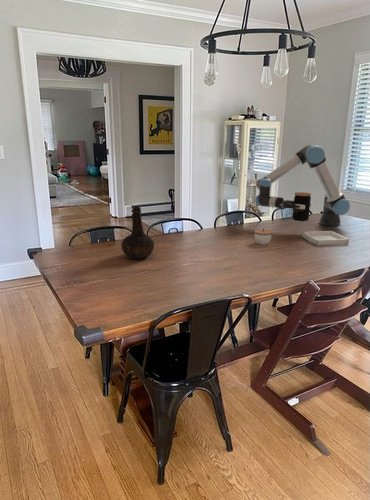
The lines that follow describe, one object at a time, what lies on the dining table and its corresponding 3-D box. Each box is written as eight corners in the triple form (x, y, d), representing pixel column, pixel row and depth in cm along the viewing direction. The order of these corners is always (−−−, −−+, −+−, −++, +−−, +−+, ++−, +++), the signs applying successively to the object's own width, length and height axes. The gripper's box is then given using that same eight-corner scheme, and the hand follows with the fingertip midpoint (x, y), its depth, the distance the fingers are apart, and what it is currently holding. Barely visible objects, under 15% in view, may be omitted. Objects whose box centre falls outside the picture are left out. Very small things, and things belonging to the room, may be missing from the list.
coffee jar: (289, 218, 259) (291, 192, 253) (301, 217, 263) (303, 191, 258) (299, 222, 250) (302, 195, 244) (311, 220, 254) (314, 194, 248)
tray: (330, 235, 253) (331, 230, 252) (348, 244, 233) (349, 239, 232) (301, 236, 250) (302, 231, 249) (316, 245, 230) (317, 240, 229)
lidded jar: (266, 246, 227) (267, 231, 224) (250, 243, 233) (251, 229, 231) (274, 243, 235) (275, 228, 233) (258, 240, 242) (259, 226, 239)
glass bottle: (147, 250, 219) (146, 203, 210) (159, 259, 203) (158, 208, 195) (118, 254, 211) (115, 205, 203) (127, 263, 196) (125, 211, 187)
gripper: (282, 205, 273) (312, 208, 261) (269, 210, 256) (301, 214, 243) (283, 195, 271) (313, 198, 259) (270, 199, 254) (302, 202, 241)
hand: (307, 205), depth 251 cm, fingers closed on coffee jar, 11 cm apart
